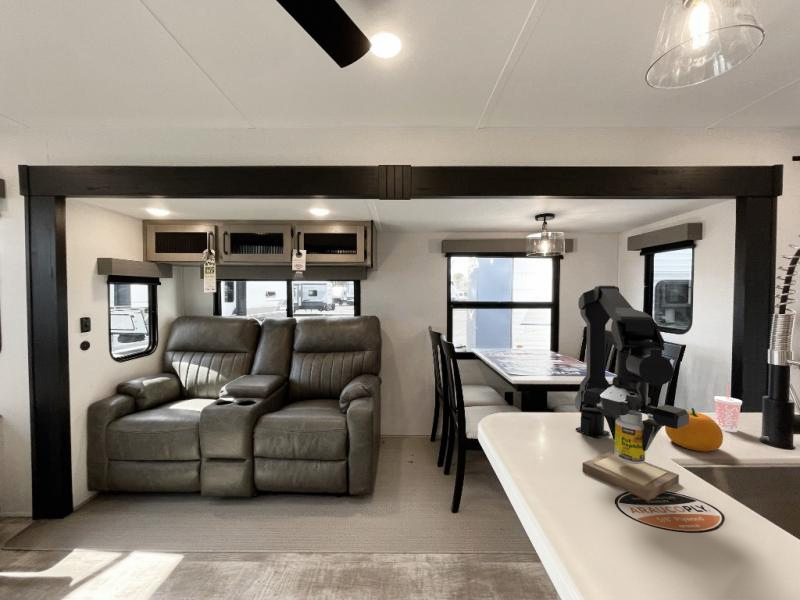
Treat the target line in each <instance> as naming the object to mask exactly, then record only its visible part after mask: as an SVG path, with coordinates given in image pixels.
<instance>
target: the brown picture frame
mask: <svg viewBox="0 0 800 600" xmlns="http://www.w3.org/2000/svg"><path fill="white" fill-rule="evenodd" d="M614 450H615V449H613V450H611V451H609V452H606V453H604V454H601V455H599V456H596V457H593V458H592V459H589V460H586V461H584V462H582V472H585V473H587V474H588V475H591V476H593V477H595V478H597V479H600V480H601V481H604V482H606V483H608V484H610V485H613V486H614V487H617V488H618V489H620V490H623V491H625V492H628V493H630V494H632V495H633V496H636V497H638V498H640V499H642V500H645V501H646V502H649V501H651V500H654V498H656V497H658V496H659V495H661V494H663V493H665V492H666V491H668V490H670V489H671V488H673V487H675V486H677V485H678V484H679V483H680V481H679V480H680V475H679V473H675V472H673V471H670V470H668V469H665V468H662V467H660V466H657V465H655V464H652V463H649V462H646V461H644V462H643V463H641V464H632V463H627V462H624V461H622V460H620V459H618V458H617V457H616V456H615V453H614ZM674 485H675V486H674ZM657 495H658V496H657Z"/></svg>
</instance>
